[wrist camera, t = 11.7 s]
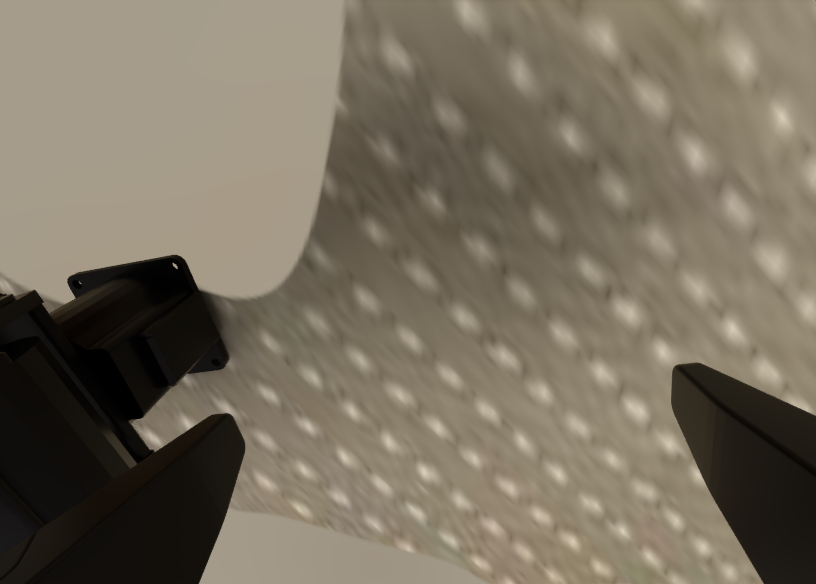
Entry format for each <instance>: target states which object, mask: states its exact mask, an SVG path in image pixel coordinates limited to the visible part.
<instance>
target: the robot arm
mask: <svg viewBox="0 0 816 584" xmlns="http://www.w3.org/2000/svg"><path fill="white" fill-rule="evenodd" d="M173 263H174V264H176V265H177V267H178V269H176V268H175V267H174V266H173ZM67 282H68V285H69V287H70V289H71V291H72V293H73V294H74V296H75V298H76V299H74V300H72V301H70V302H69V303H67V304H65V305H63V306H61V307H60V308H58V309H56V310H54V311H52V312H51V313H48V312H47V310H46V309H45V308H44V306H43V305H42V303H43V302H44V301H43V300H42V298H41V297H40V296H39V294H38V293H37V292H36V290H32V291H29V292H27V293H24V294H21V295H18V296H15V297H14V296H13V294H9V295H7V294H1V293H0V584H199V582H200V580H201V577H202V574H203V572H204V570H205V567H206V565H207V562H208V560H209V557H210V555H211V552H212V550H213V547H214V545H215V543H216V540H217V538H218V535H219V532H220V530H221V527H222V525H223V522H224V519H225V516H226V513H227V510H228V507H229V504H230V501H231V497H232V494H233V491H234V487H235V484H236V480H237V477H238V474H239V470H240V467H241V464H242V460H243V457H244V454H245V441H244V439H243V437H242V434H241V432H240V430H239V428H238V426H237V424H236V422H235V419H234V418H233V416H232V415H231V414H228V413H224V414H215V415H211V416H209V417H207V418H206V419H204V420H203V421H201V422H200V423H198V424H197V425H195V426H194V427H192V428H191V429H189V430H188V431H186V432H185V433H183V434H182V435H180V436H179V437H177V438H176V439H174V440H173V441H171V442H170V443H168V444H167V445H165V446H164V447H162V448H161V449H159V450H158V451H156V452H155V451H154V450H150V449H149V448H148V446H147V445H146V444H145V442H144V441H143V440H142V438H141V437H140V436H139V434H138V433H137V431H136V430H135V429H134V427H133V426H132V425H131V424H132V423H133V422H134V421H135V419H141V418H143V417H144V416H145V415H146V414H147V413H148V412H149V410H150V409H151V408H152V407H153V406H154V405H155V404H156V403H157V402H158V401H159V400H160V399H161V398H162V397H163V396H164V395H165V394H166V392H167V391H168V390H169V389H170V388H171V387H174V386H175V385H177V384H178V383H179V382H180V380H181V379H182V378H183V377H184V376H185V375H186V374H191V373H199V372H207V371H214V370H221V369H223V368H224V367H225V366H226V364H227V363H228V361H229V358H228V355H227V353H226V351H225V349H224V346H223V344H222V342H221V340H220V337H219V334H218V332H217V330H216V327H215V325H214V323H213V320H212V318H211V316H210V314H209V311H208V309H207V307H206V305H205V302H204V300H203V298H202V296H201V294H200V292H199V290H198V288H197V285H196V283H195V281H194V279H193V276H192V274H191V272H190V270H189V267H188V265H187V263H186V261H185V260H184V259H183V258H182V257H181V256H178V255H171V256H165V257H160V258H154V259H149V260H144V261H138V262H132V263H127V264H122V265H116V266H111V267H105V268H100V269H94V270H89V271H84V272H79V273H76V274H74V275H72V276H70V277H69V278H68V281H67ZM79 282H80V283H81V284H82V285H81V284H80V283H79ZM216 358H217V359H219V360H220V361H221V362H219V361H217V360H216ZM671 404H672V409H673V412H674V415H675V417H676V419H677V422H678V424H679V426H680V428H681V430H682V433H683V435H684V437H685V439H686V442H687V444H688V446H689V448H690V450H691V453H692V455H693V457H694V459H695V461H696V464H697V466H698V468H699V470H700V473H701V475H702V477H703V479H704V481H705V483H706V485H707V487H708V489H709V491H710V493H711V495H712V497H713V498H714V500H715V502H716V504H717V506H718V507H719V509H720V511H721V512H722V514H723V516H724V517H725V519H726V521H727V522H728V524H729V526H730V527H731V529H732V531H733V532H734V534H735V536H736V538H737V539H738V541H739V543H740V544H741V546H742V548H743V549H744V551H745V553H746V554H747V556H748V558H749V559H750V561H751V563H752V565H753V566H754V568H755V570H756V571H757V573H758V575H759V576H760V578H761V580H762V581H763V583H764V584H816V416H815V415H813V414H811V413H809V412H806V411H804V410H802V409H800V408H798V407H795V406H793V405H791V404H789V403H787V402H785V401H782V400H780V399H778V398H776V397H774V396H771V395H769V394H767V393H765V392H763V391H760V390H758V389H756V388H754V387H752V386H750V385H747V384H745V383H743V382H741V381H739V380H736V379H734V378H732V377H730V376H728V375H726V374H723V373H721V372H719V371H717V370H715V369H712V368H710V367H708V366H706V365H704V364H701V363H688V364H679V365H676V366H675V367H674V368H673V371H672V391H671Z"/></svg>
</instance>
